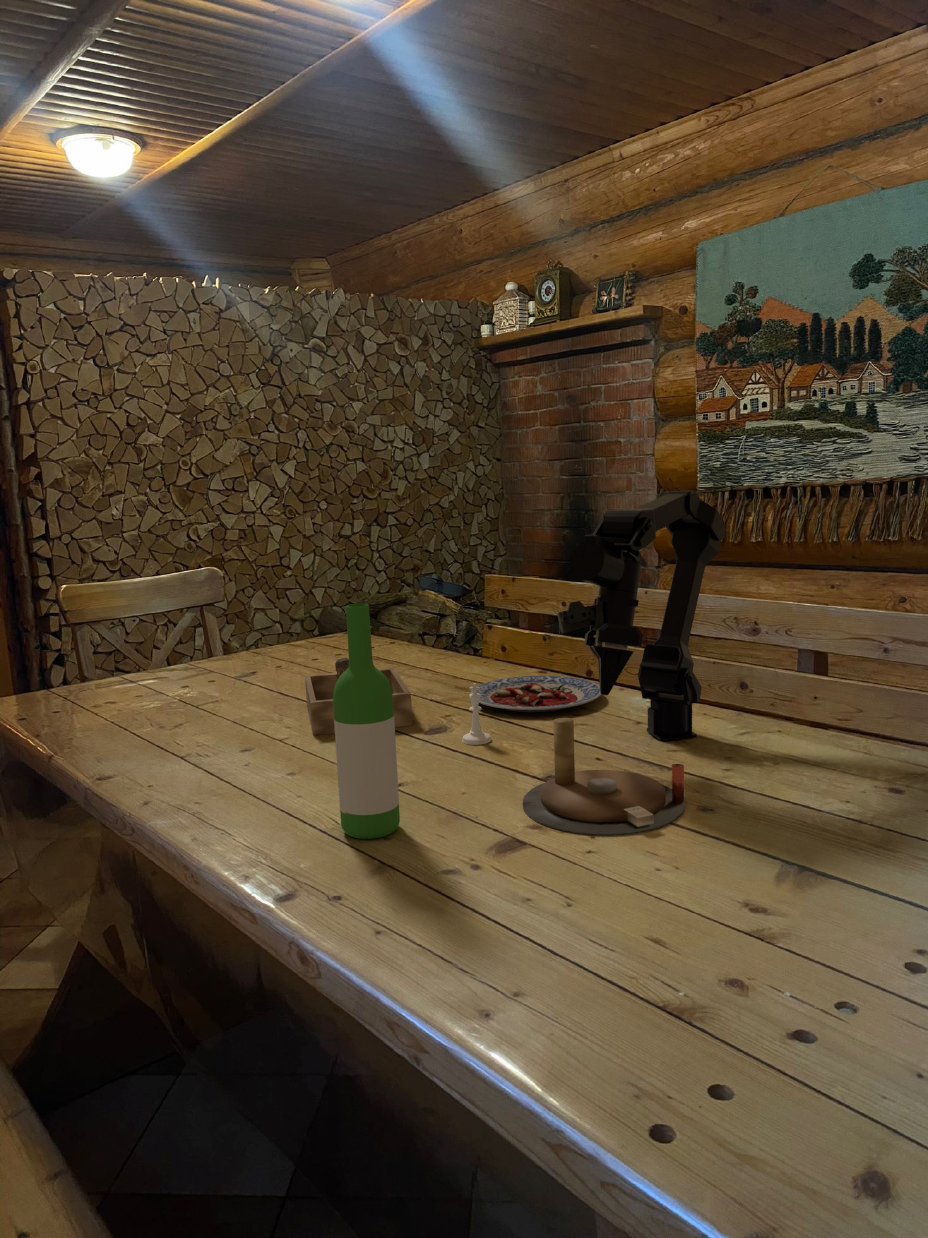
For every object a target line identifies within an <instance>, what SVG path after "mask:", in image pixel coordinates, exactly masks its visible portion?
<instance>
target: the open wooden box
mask: <svg viewBox="0 0 928 1238" xmlns="http://www.w3.org/2000/svg"><path fill="white" fill-rule="evenodd" d="M378 670H380V671H381V672H382V673H383V674H384V675H385V676H386V677H387V679H388V681H389V682H390V685H391V688H392V693H393V709H394V723H395V728H399V727H400V728H401V727H411V726H413V725H414V724H413V707H412V693H411V691H410V690H409V688H408V687H407V685H406V684H405V682H404V681H403V679H402V678H401V676H400V675H399V673H398V672H397V670H396V668H395V667H392V668H390V667H389V668H382V669H378ZM336 675H337V672H335V673H333V672H332V673H323V674H311V675H304V680H305V681H304V684H305V685H304V686H305V699H306V708H307V712H308V718H309V722H310V728H311V733H312V736H320V735H327V734H328V735H329V734H330V735H331V734H335V725H334V707H333V692H334V687H335V684H336V682H337V677H336Z"/></svg>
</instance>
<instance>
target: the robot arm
mask: <svg viewBox="0 0 928 1238" xmlns="http://www.w3.org/2000/svg"><path fill="white" fill-rule="evenodd" d="M664 528H666V530H667V531H668V532H669V534H670V535H671V545H672V548H673V551H674V553H675V556H676V562H675V566H674V571H673V576H672V580H671V585H670V588H669V593H668V596H667V597H668V598H667V602H666V606H665V611H664V615H663V619H662V623H661V628H660V631H659V632H660V633H659V637H658V638H657V640H656V641H655V642H654V643H647V644H646V645H645V646H644V649H643V654H642V655H643V656H642V659H641V662H640V665H639V668H638V673H637V674H638V677H637V678H638V683H639V689H640V692H641V693H640V694H641V699H643V700H647V699H648V700H650V701H649V702H650V707H647V727H646V732H647V733H649V734H651V735H652V736H653V737H655V738H657V740H659V741H661V742H662V741H663V742H665V741H673V740H680V739H681V740H683V739H691V738H697V735H698V734H697V733H696V732H694V731H693V704H698V703H699V702H700V699H701V696H702V685H701V683H700V682H699V680H698V678H697V676H696V675H695V673H694V667H695V666H694V665H695V662H694V660H693V657H692V655H691V652H690V650H689V641H690V636H691V633H692V632H691V631H692V628H693V623H694V618H695V615H696V609H697V606H698V600H699V597H700V591H701V587H702V583H703V578H704V574H705V570H706V569H705V568H706V566H707V565H708V564H709V563H710V562H711V561H712V560H713V559H714V558H715V557H716V556H717V555H718V554H719V552H720V548H721V546H722V542H723V540H724V539H725V537H726V531H727V530H726V529H727V528H726V523H725V521H724V519H723V518H722V516H721V514H720V512H719V511H718V510H717V508H716V507H713V506H712V505H710V504H709V503H707V502H705V501H704V500H702V499H701V498H700V495H698V493H697V492H695V491H692V490H670V491H668V492H665V494H663V495H662V496H660V497H657V498H656V499H653V500H651V501H649V502H646V503H644V504H642V505H640V506H638V507H636V508H619V509H609V510H606V512H604V514H603V515H602V518H601V520H600V521H599V523H598V525H597V526H596V528H595V530H594V531H592V532H593V533H592V534H585V535H584V541H583V542H582V543H580V544H579V545H577V546H576V547H575V548H574V550H573V551H572V554H571V555H570V557H569V560H568V561H569V564H568V565H569V570H570V572H571V574H572V576H574V578H575V579H577V580H579V581H583V582H585V583H588V584H592V585H593V586H594V585H595V586H597V587H599V589H598V595H597V596H596V598H594V599H593V605H587V606H585V605H584V604H583V603H582V602H581V600H576V601H571V602H569V603H568V607H567V610H562V611H559V612H557V619H558V624H559V629H560V633H561V635H562V634H567V633H571V632H573V631H575V630H580V629H585V628H586V629H587V628H589V631H587V633H586V632H585V635H584V643H583V646H585V647H588V650H589V651H590V652H591V653H592V654H593V655H594V657H595V658H596V660H597V669H598V680H599V687H600V693H601V695H600V696H602V695H603V696H609V695H610V693H611V691H612V689H613V688H614V686H615V685H616V683H617V680H618V679H619V677H620V675H621V674H622V672H623V671H624V669H625V667H626V665H627V663H628V662H629V660H630V659H631V656H632V655H634V650H630V649H629V647H634V649H639V648H640V649H641V648H642V643H643V637H644V635H643V633H642V632H641V630H640V629H639V628H638V627H637V626H636V627H635V626H634V621H635V615H636V614H635V613H636V608H638V607H639V599H637V598H638V592H639V591H638V589H639V583H640V575H641V569H642V568H644V569H645V568H646V567H647V566H648V565H647V561H646V560H645V558H644V557H643V556H642V554H641V551H640V550H641V549H645V548H647V547H648V546H649V545H650V544H652V543H653V542H654V541H655V540H656V538H657V531H660V530H661V529H664Z"/></svg>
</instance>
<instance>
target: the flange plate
mask: <svg viewBox="0 0 928 1238" xmlns="http://www.w3.org/2000/svg"><path fill="white" fill-rule="evenodd" d="M574 726H575V722H574V719H573V718H569V717H559V718H555V719H553V754H554V757H553V758H554V759H553V760H554V777H551V778H550V779H548V780H547V781H545V782H543V783H544V784H543V783H542V784H543V785H542V787H541V790H540V798H541V803H542V804H543V806H544V807H545V808H546V809H548V810H549V811H551V812H553V813H555V814H558V815H560V816H564V817H567V818H571V819H576V820H582V821H592V822H618V821H629V822H631V823H632V824H634V825H636V826H637V827H639V826H644V825H649V824H654V813H655V812H657V811H659V810H660V809H661V808H662V807H663V806H664V805H665V802H666V791H665V788H664V787H663V785H664V784H663V783H661V782H660V781H658V780H656V779H655V778H652V777H649V776H646V775H644V774H640V773H636V772H631V771H626V770H618V769H617V770H615V769H586V770H577V771H576V770H575V769H576V768H575V762H576V761H575V727H574ZM662 784H663V785H662Z"/></svg>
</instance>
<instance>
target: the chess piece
mask: <svg viewBox="0 0 928 1238" xmlns="http://www.w3.org/2000/svg"><path fill="white" fill-rule="evenodd" d="M468 688H469V689H468V690H469V691H472V690H473V693H472V694H470V693H469V695H468V697H469V701H470V704H471V706H470V707H469V709H468V710H469V711H471V712H472V717H471V718H472V719H471V728H470V730H469V732H468V733H465V734H464V735H463V736H462V740H461V742H462V743H463V744H465V745H469V746H470V745H471V746H472V745H473V746H478V745H486V744H489V743H490V742H491V741H492V739H491V735H490V734H489V733H487V732H484V730H483V729H482V726H481V722H480V721H481V720H480V713H479V711H481V710H482V709H483V708H482V707H481V706H479V704H480V703H479V700H480V697H481V695H480V694H479V693H476V690H480V687H477V683H476V682H475V683H472V686H470V687H468Z"/></svg>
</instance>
